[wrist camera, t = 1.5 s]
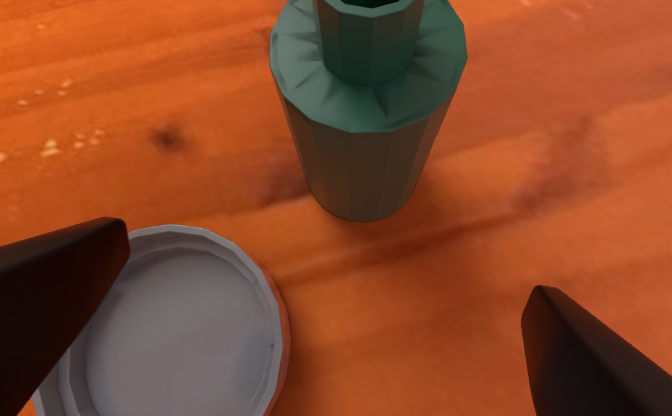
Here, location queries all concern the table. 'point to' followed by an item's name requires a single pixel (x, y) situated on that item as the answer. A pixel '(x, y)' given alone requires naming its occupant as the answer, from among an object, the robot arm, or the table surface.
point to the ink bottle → (365, 95)
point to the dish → (177, 335)
